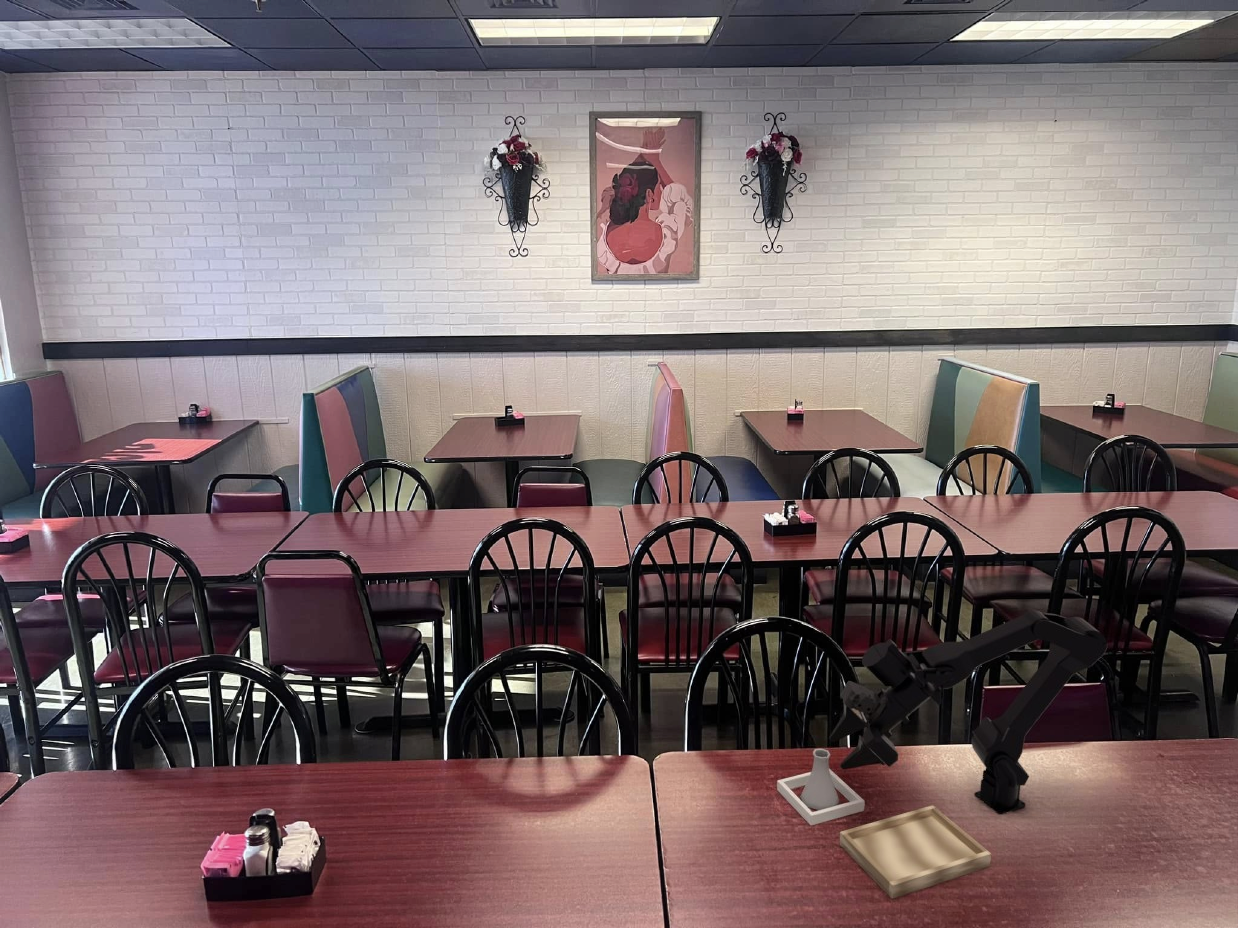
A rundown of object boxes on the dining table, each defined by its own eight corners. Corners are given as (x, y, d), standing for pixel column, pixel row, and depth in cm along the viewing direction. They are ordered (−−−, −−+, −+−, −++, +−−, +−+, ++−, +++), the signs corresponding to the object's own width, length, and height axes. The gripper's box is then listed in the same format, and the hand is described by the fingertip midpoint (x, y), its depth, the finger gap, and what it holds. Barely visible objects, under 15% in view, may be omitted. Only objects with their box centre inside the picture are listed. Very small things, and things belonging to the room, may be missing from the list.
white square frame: (827, 776, 164) (828, 767, 163) (864, 810, 153) (864, 800, 153) (777, 789, 160) (777, 780, 160) (810, 825, 149) (811, 815, 149)
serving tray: (931, 817, 151) (932, 805, 151) (989, 866, 138) (991, 853, 138) (839, 844, 144) (840, 831, 144) (891, 898, 131) (892, 885, 131)
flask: (840, 814, 152) (842, 765, 150) (800, 809, 154) (802, 761, 152) (838, 790, 159) (840, 744, 157) (800, 786, 161) (801, 740, 159)
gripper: (857, 649, 160) (798, 700, 162) (883, 696, 141) (816, 753, 144) (896, 686, 161) (836, 737, 164) (927, 739, 143) (859, 794, 146)
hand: (835, 753), depth 154 cm, fingers open, 9 cm apart
